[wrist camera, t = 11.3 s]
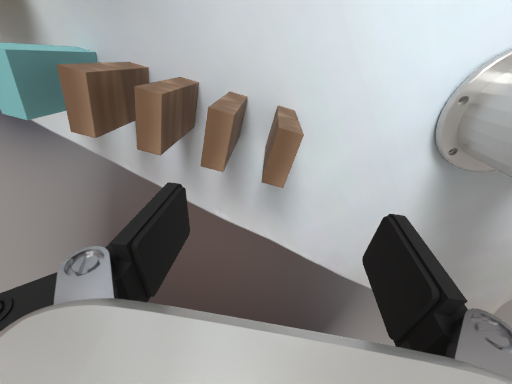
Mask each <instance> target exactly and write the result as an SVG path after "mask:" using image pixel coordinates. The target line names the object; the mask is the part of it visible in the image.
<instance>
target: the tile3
mask: <svg viewBox="0 0 512 384" xmlns="http://www.w3.org/2000/svg"><path fill="white" fill-rule="evenodd" d="M198 85H199V82H196V81H192V80H189V79H185V78H182V77H179V78H174V79H169V80H164V81H159V82H154V83H149V84H144V85H139V86H134V91H135V112H136V134H137V149H138V150H142V151H146V152H150V153H153V154H157V155H162V154H163V153H164V152H165V151H166V150H168V149H169V148H170V147H171V146H172V145H173V144H175V143H176V142H177V141H178V140H179V139H181V138H182V137H183V136H184V135H185V134H186V133H188V132H189V131H190V130H191V129H192V128H194V124H195V114H196V104H197V95H198Z"/></svg>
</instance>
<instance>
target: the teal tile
mask: <svg viewBox="0 0 512 384" xmlns="http://www.w3.org/2000/svg"><path fill="white" fill-rule="evenodd" d="M79 63H97V58H96V52H93V51H89V50H86V49H82V48H79V47H71V46H54V45H36V44H19V43H1V42H0V109H1V112H2V113H3V114H6V115H10V116H13V117H17V118H21V119H25V120H30V119H34V118H38V117H42V116H46V115H50V114H54V113H58V112H62V111H66V106H65V101H64V96H63V92H62V87H61V82H60V78H59V73H58V68H57V64H79Z"/></svg>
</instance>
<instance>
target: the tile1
mask: <svg viewBox="0 0 512 384" xmlns="http://www.w3.org/2000/svg"><path fill="white" fill-rule="evenodd" d="M303 135H304V134H303V132H302V129H301V126H300V123H299V121H298V118H297V115H296V113H295V111H294V110H291V109H288V108H284V107H281V106H278V107H277V110H276V113H275V117H274V120H273V123H272V127H271V130H270V133H269V137H268V140H267V144H266V147H265V156H264V165H263V174H262V183H266V184H270V185H274V186H277V187H281V188H283V187H284V184H285V182H286V179H287V177H288V174H289V171H290V169H291V166H292V164H293V161H294V159H295V156H296V153H297V151H298V148H299V146H300V143H301V141H302V138H303Z"/></svg>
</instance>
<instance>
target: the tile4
mask: <svg viewBox="0 0 512 384" xmlns="http://www.w3.org/2000/svg"><path fill="white" fill-rule="evenodd" d="M57 68H58V73H59V78H60V82H61V87H62V92H63V96H64V101H65V106H66V110H67V115H68V120H69V124H70V129H71V132H74V133H78V134H82V135H86V136H89V137H93V138H97V137H99V136H101V135H104V134H106V133H108V132H110V131H113V130H115V129H117V128H119V127H122V126H124V125H126V124H128V123H131V122H133V121H135V120H136V112H135V91H134V86H139V85H144V84H148V67H144V66H141V65H138V64H134V63H131V62H115V63H79V64H57Z"/></svg>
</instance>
